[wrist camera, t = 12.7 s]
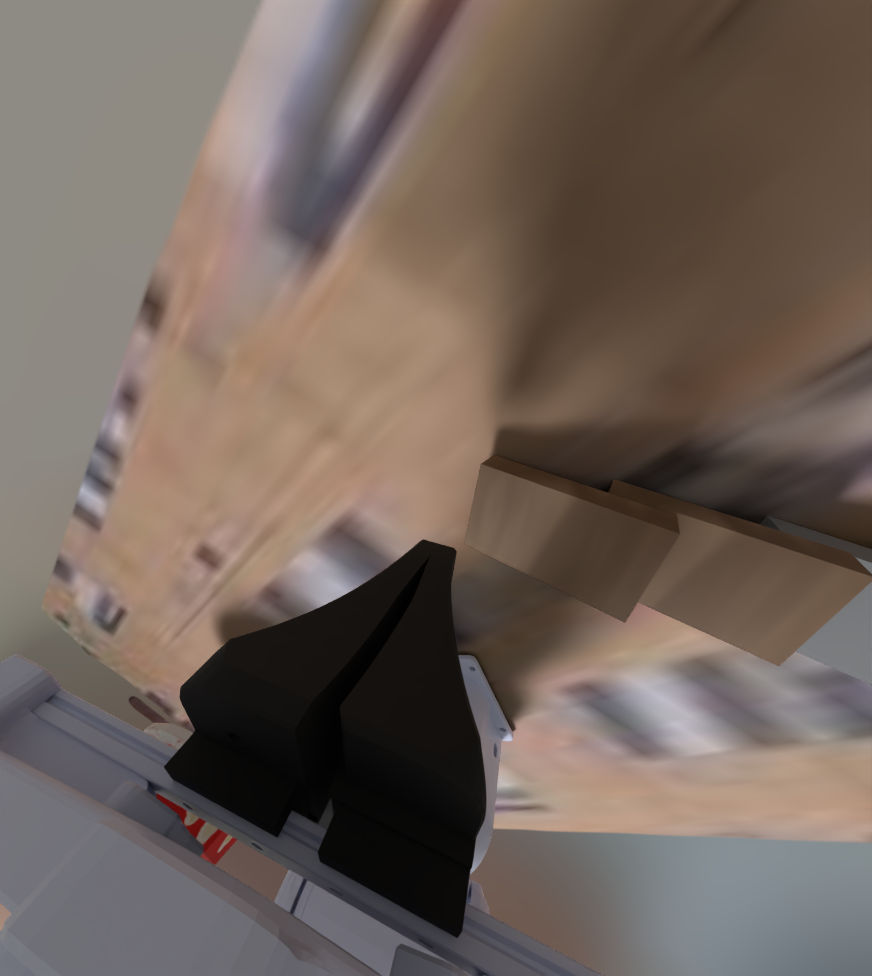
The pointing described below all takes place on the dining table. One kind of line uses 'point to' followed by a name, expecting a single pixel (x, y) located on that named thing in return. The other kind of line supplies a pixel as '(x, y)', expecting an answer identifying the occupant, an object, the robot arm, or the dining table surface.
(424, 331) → the dining table surface
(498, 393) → the dining table surface
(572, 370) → the dining table surface
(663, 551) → the domino
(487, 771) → the robot arm
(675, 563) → the domino
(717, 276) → the dining table surface
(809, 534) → the domino
